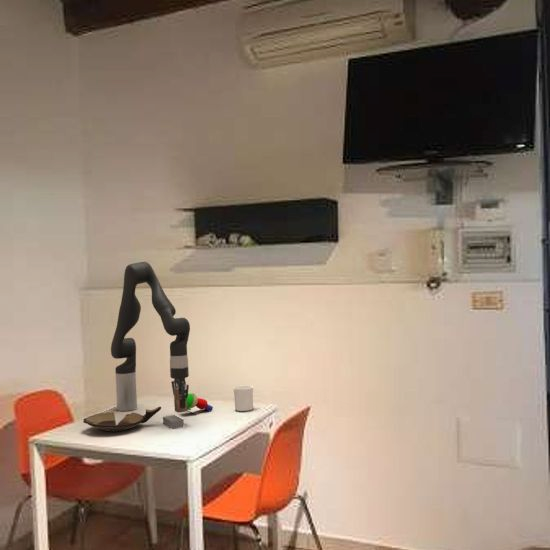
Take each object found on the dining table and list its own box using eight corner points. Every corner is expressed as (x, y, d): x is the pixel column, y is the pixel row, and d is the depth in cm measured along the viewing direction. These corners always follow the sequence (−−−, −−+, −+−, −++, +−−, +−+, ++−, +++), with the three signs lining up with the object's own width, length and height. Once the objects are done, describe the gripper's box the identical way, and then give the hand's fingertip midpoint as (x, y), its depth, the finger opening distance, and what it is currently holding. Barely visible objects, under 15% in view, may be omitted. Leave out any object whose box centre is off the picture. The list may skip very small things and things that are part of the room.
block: (174, 411, 249) (173, 387, 249) (183, 409, 251) (182, 385, 251) (178, 412, 246) (177, 388, 246) (187, 411, 248) (186, 387, 248)
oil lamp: (97, 422, 257) (96, 405, 257) (165, 422, 254) (164, 404, 254) (74, 437, 234) (73, 417, 234) (148, 436, 231) (148, 416, 231)
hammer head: (163, 423, 250) (163, 416, 250) (174, 422, 252) (174, 414, 252) (171, 428, 241) (171, 421, 241) (183, 426, 244) (183, 419, 244)
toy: (199, 417, 274) (174, 405, 265) (206, 400, 276) (181, 388, 268) (209, 420, 267) (183, 408, 259) (216, 403, 269) (191, 391, 261)
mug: (251, 412, 264) (250, 389, 264) (232, 412, 266) (231, 389, 266) (256, 406, 275) (255, 384, 275) (238, 406, 277) (237, 384, 276)
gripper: (164, 365, 252) (166, 405, 252) (176, 369, 240) (178, 411, 240) (181, 363, 256) (182, 403, 256) (194, 366, 244) (195, 408, 244)
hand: (180, 406), depth 248 cm, fingers closed on block, 4 cm apart
